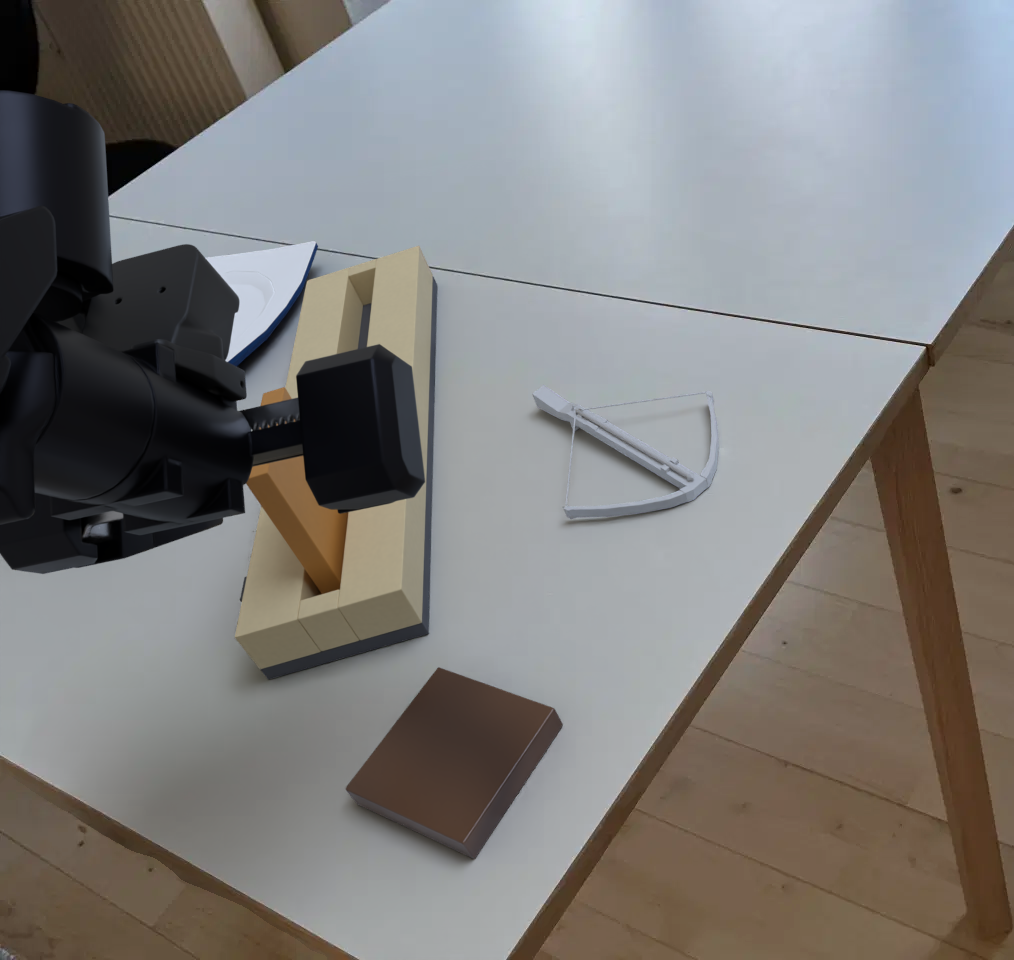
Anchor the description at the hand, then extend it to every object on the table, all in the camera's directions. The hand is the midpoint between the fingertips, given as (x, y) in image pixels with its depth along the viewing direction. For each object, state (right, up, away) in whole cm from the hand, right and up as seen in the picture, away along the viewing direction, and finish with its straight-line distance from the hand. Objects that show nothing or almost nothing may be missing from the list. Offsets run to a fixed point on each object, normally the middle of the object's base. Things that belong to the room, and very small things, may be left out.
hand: (303, 496), depth 55 cm
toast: (-1, -4, +14) cm, 15 cm away
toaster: (-3, +3, +25) cm, 25 cm away
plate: (-23, +14, +45) cm, 52 cm away
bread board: (+8, -14, +2) cm, 16 cm away
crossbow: (+15, +3, +17) cm, 23 cm away
